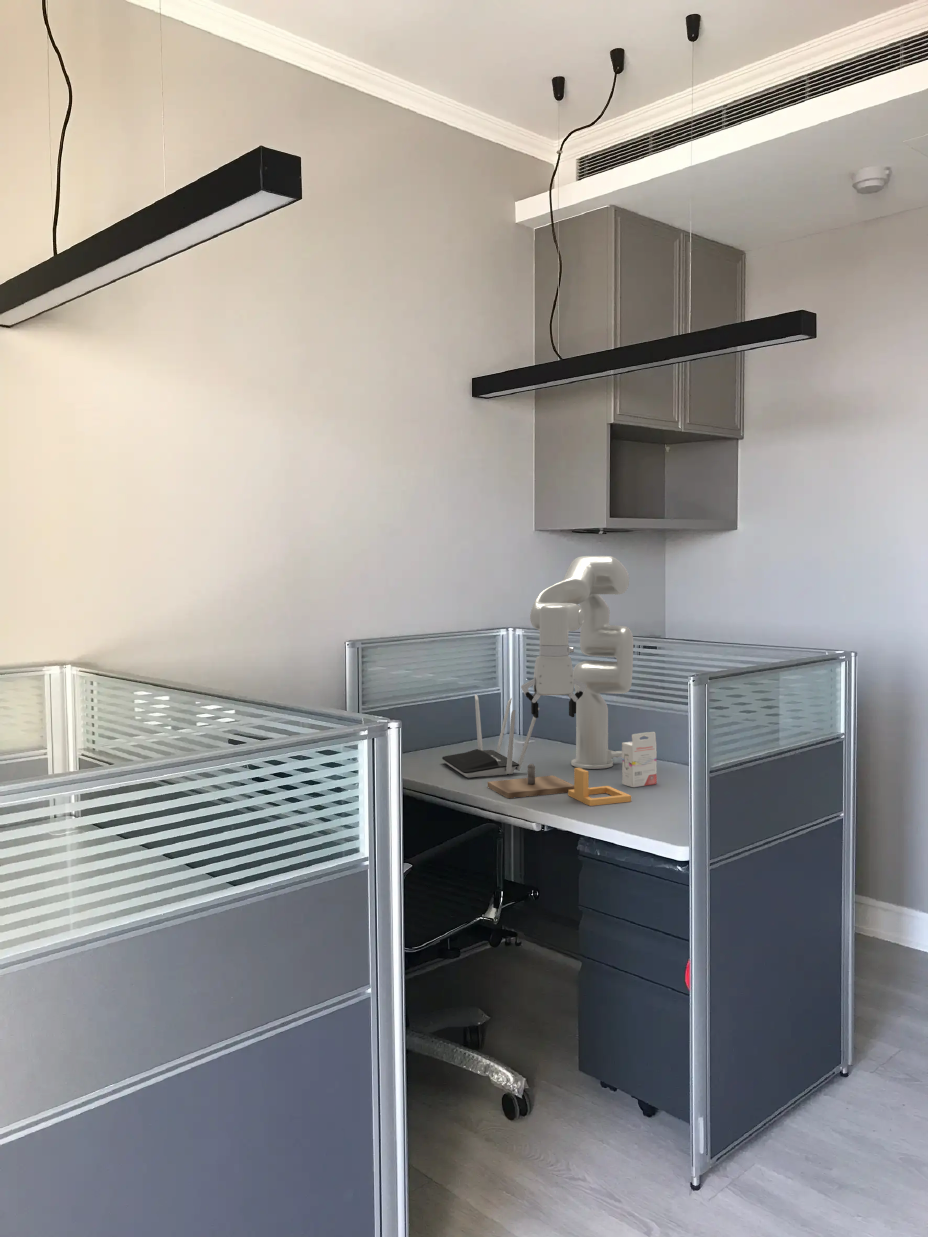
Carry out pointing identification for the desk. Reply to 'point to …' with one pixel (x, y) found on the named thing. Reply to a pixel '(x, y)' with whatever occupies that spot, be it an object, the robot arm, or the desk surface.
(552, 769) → the desk surface
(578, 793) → the link
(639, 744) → the ink cartridge box
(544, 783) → the wooden peg board
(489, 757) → the wireless router
